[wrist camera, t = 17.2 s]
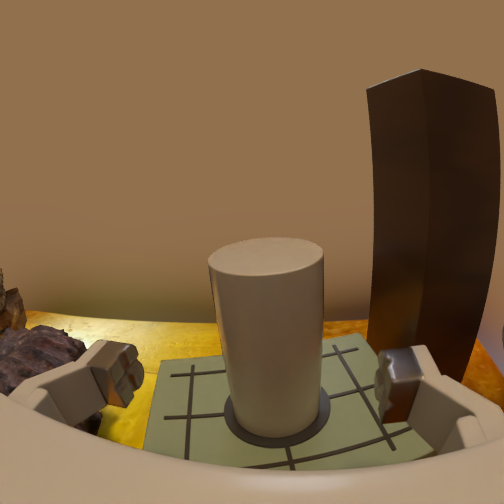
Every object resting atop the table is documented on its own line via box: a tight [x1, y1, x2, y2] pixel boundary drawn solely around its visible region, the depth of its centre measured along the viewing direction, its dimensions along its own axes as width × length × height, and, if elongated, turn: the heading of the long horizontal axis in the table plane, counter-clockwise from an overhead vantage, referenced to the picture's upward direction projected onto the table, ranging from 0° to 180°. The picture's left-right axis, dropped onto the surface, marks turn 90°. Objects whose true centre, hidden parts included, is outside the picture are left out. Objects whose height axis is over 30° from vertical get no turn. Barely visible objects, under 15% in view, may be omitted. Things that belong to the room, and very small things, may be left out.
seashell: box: [0, 325, 103, 436], centre depth 16 cm, size 20×13×15 cm
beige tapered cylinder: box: [208, 237, 324, 438], centre depth 14 cm, size 5×5×9 cm
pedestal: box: [366, 69, 500, 384], centre depth 19 cm, size 7×7×24 cm
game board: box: [143, 333, 438, 471], centre depth 16 cm, size 15×12×6 cm
